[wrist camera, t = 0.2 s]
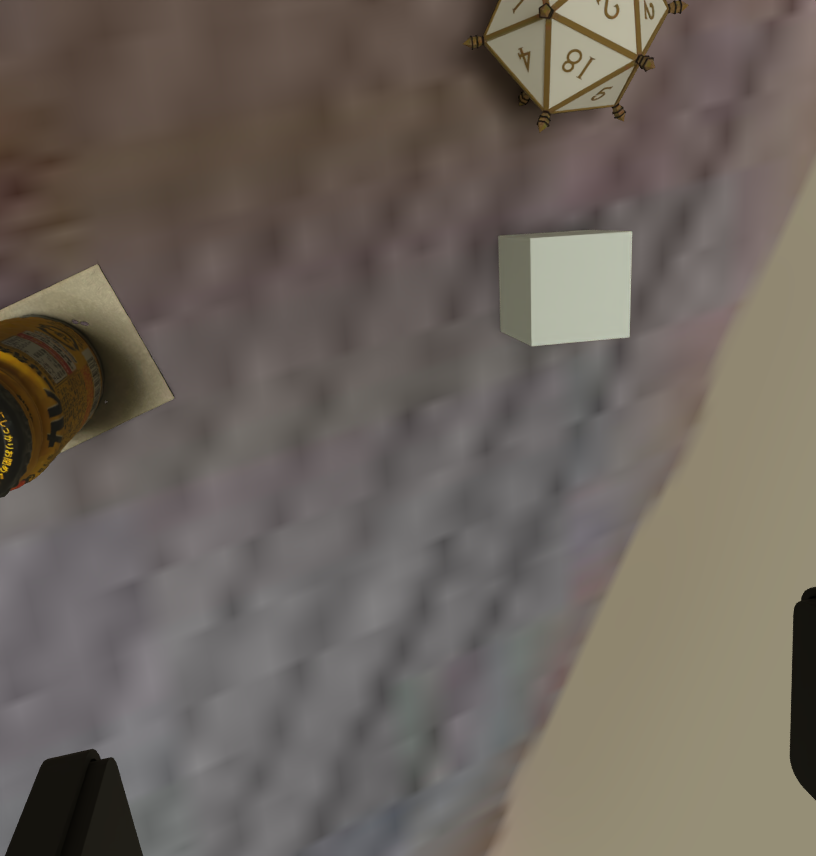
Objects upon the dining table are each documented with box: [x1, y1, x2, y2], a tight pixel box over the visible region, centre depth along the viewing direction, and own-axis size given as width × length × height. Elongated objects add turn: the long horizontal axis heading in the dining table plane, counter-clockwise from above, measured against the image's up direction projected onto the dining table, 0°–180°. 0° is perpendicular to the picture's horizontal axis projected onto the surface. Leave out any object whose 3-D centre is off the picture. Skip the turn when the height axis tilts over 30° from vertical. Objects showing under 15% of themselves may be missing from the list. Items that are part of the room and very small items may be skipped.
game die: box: [463, 0, 688, 132], centre depth 33 cm, size 9×8×10 cm
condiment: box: [0, 265, 174, 498], centre depth 31 cm, size 7×8×12 cm
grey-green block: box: [498, 230, 632, 346], centre depth 38 cm, size 5×5×5 cm
